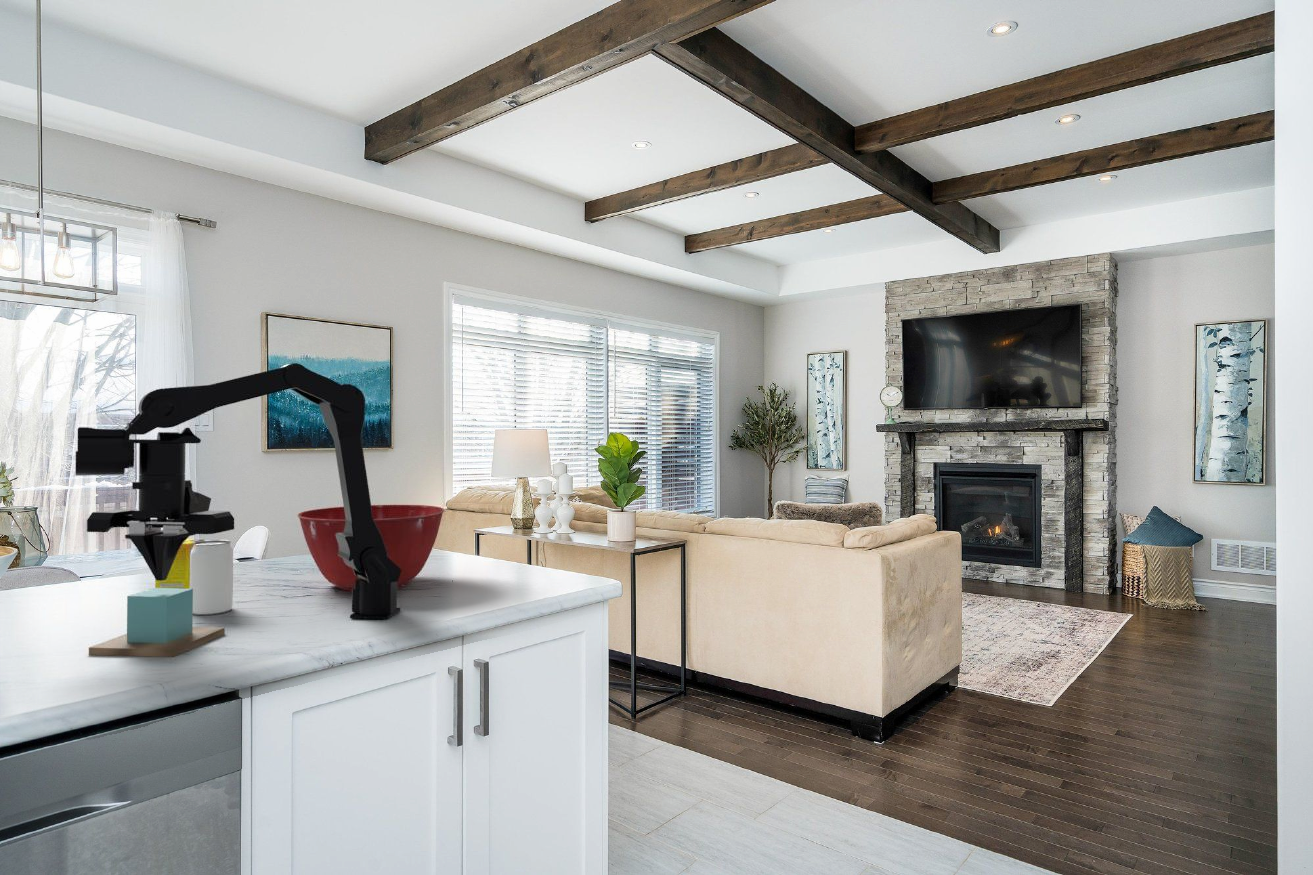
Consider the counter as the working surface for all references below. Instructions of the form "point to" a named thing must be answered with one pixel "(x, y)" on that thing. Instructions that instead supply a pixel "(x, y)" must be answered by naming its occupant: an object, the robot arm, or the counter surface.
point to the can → (211, 577)
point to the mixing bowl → (401, 530)
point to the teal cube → (159, 615)
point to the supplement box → (179, 568)
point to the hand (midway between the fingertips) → (161, 580)
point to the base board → (157, 644)
